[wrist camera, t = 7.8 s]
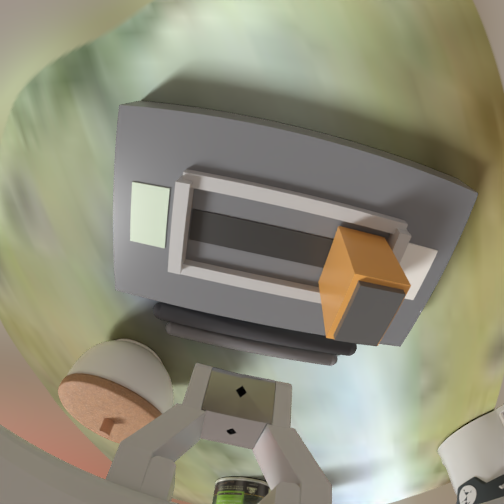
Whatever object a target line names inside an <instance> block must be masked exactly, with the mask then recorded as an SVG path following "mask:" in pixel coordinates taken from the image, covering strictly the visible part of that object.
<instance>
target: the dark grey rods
mask: <svg viewBox="0 0 504 504" xmlns="http://www.w3.org/2000/svg"><path fill="white" fill-rule="evenodd" d="M153 313H154V315H155V316H156V317H157V318H158V319H162V320H166V321H170V322H169V323H167V325H166V331H167V333H168V334H170V335H173V336H177V337H181V338H186V339H190V340H194V341H198V342H203V343H207V344H212V345H216V346H221V347H226V348H230V349H235V350H240V351H245V352H250V353H256V354H261V355H266V356H272V357H278V358H284V359H290V360H296V361H302V362H309V363H315V364H322V365H330V366H331V365H334V364H335V363H336V362H337V356H336V354H339V355H347V356H349V355H352V354H354V353H355V351H356V349H357V346H356V343H350V342H343V341H336V340H334V339H330V338H326V336H324V335H318V334H312V333H306V332H300V331H295V330H289V329H284V328H278V327H273V326H268V325H263V324H258V323H253V322H248V321H243V320H238V319H233V318H229V317H224V316H219V315H215V314H210V313H206V312H201V311H197V310H193V309H188V308H184V307H180V306H176V305H171V304H167V303H163V302H160V303H157V304H156V305H155V306H154V308H153Z"/></svg>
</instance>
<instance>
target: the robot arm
mask: <svg viewBox="0 0 504 504" xmlns="http://www.w3.org/2000/svg"><path fill="white" fill-rule="evenodd" d="M291 402H292V386H291V384H289V383H283V382H278V381H274V380H269V379H264V378H259V377H254V376H249V375H242V374H238V373H234V372H230V371H226V370H223V369H219V368H215V367H213V368H212V366H208V365H204V364H200V363H196V365H195V366H194V369H193V372H192V375H191V379H190V382H189V385H188V388H187V391H186V394H185V397H184V400H183V404H178V403H177V404H176V405H175V406H173V407H172V408H170V409H169V410H167V411H166V412H164V413H163V414H162V415H160V416H159V417H157V418H156V419H154V420H153V421H151V422H150V423H148V424H147V425H145V426H144V427H142V428H141V429H139V430H138V431H136V432H135V433H133V434H132V435H130V436H129V437H127V438H126V439H124V440H123V441H121V442H120V445H119V447H118V450H117V452H116V455H115V457H114V460H113V462H112V465H111V467H110V470H109V472H108V475H107V477H106V480H105V479H103V478H100V477H98V476H95V475H93V474H91V473H88V472H86V471H84V470H82V469H79V468H77V467H75V466H73V465H71V464H69V463H67V462H65V461H63V460H60V459H59V458H57V457H55V456H53V455H51V454H49V453H47V452H45V451H44V450H42V449H40V448H38V447H36V446H34V445H33V444H31V443H29V442H28V441H26V440H24V439H22V438H21V437H19V436H17V435H16V434H14V433H13V432H11V431H10V430H8V429H6V428H5V427H3V426H2V425H0V504H178V503H174V502H171V499H172V495H173V491H174V485H175V470H176V465H175V463H174V462H175V461H176V460H177V459H178V458H180V457H181V456H182V455H183V454H184V453H185V452H187V451H188V450H189V449H190V448H191V447H192V446H193V445H194V444H196V443H197V442H198V441H199V440H200V438H202V439H206V440H211V441H216V442H221V443H226V444H230V445H235V446H239V447H244V448H248V449H253V450H252V451H253V453H254V455H255V458H256V460H257V462H258V464H259V466H260V468H261V471H262V473H263V475H264V477H265V479H266V481H267V483H268V485H269V487H270V489H271V491H270V492H269V493H268V494H267V495H266V496H265V497H264V498H263V499H262V500H261V501H260V502H259V503H258V504H332V485H331V483H330V482H329V480H328V479H327V477H326V476H325V474H324V473H323V471H322V470H321V468H320V467H319V465H318V464H317V462H316V461H315V459H314V458H313V456H312V455H311V453H310V452H309V450H308V448H307V447H306V445H305V444H304V442H303V441H302V439H301V438H300V436H299V434H298V433H297V431H296V430H295V429H294V428H290V424H291ZM438 454H439V456H440V457H441V459H442V463H443V465H445V467H446V469H447V472H448V474H449V477H450V480H451V483H452V485H453V488H454V491H455V493H456V494H457V504H504V404H503V405H502V406H500V407H499V408H497V409H496V410H494V411H492V412H490V413H488V414H486V415H484V416H482V417H479V418H478V419H476V420H474V421H472V422H470V423H468V424H467V425H465V426H464V427H462V428H460V429H459V430H457V431H456V432H455V433H453V434H452V435H451V436H449V437H448V438H447V439H446V440H445V441H444V442H443V443H442V444H441V445H440V447H439V448H438Z"/></svg>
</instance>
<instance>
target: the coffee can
mask: <svg viewBox="0 0 504 504" xmlns="http://www.w3.org/2000/svg"><path fill="white" fill-rule="evenodd" d="M270 491H271V489H270V487H269V485H268V483H267V482H265V481H262V480H258V479H253V478H246V477H224V478H220V479H218V480H216V482H215V491H214V497H213V503H212V504H258V503H259V502H260V501H261V500H262V499H263V498H264V497H265V496H266V495H267V494H268V493H269V492H270Z"/></svg>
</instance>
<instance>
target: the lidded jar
mask: <svg viewBox="0 0 504 504" xmlns="http://www.w3.org/2000/svg"><path fill="white" fill-rule="evenodd" d="M58 394H59V398H60V400H61V402H62V404H63V406H64V407H65V408H66V410H67V411H68V412H69V413H70V414H71V415H72V416H73V417H74V418H75V419H76V420H77V421H79V422H80V423H81V424H83V425H84V426H85V427H87V428H88V429H90V430H91V431H93V432H95V433H97V434H98V435H100V436H102V437H104V438H107V439H109V440H111V441H114V442H117V443H120V442H121V441H123V440H124V439H126V438H127V437H129V436H130V435H132V434H133V433H135V432H136V431H138V430H139V429H141V428H142V427H144V426H145V425H147V424H148V423H150V422H151V421H153V420H154V419H156V418H157V417H159V416H160V415H162V414H163V413H164V412H166V411H167V410H169V409H170V408H172V407H173V404H174V392H173V386H172V382H171V379H170V376H169V374H168V372H167V370H166V369H165V367H164V366H163V363H162V361H161V359H160V358H159V356H158V355H157V354H156V353H155V352H154V351H153V350H152V349H150V348H149V347H147V346H146V345H144V344H142V343H140V342H137V341H135V340H131V339H117V340H114V341H105V342H102V343H99V344H96V345H94V346H93V347H91V348H89V349H88V350H87V351H86V352H84V353H83V354H82V355H81V356H80V357H79V358H78V360H77V361H76V362H75V363H74V364H73V366H72V368H71V369H70V371H69V372H68V374H67V376H66V377H65V378H64V379H63V380H62V382H61V384H60V386H59V388H58Z"/></svg>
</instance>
